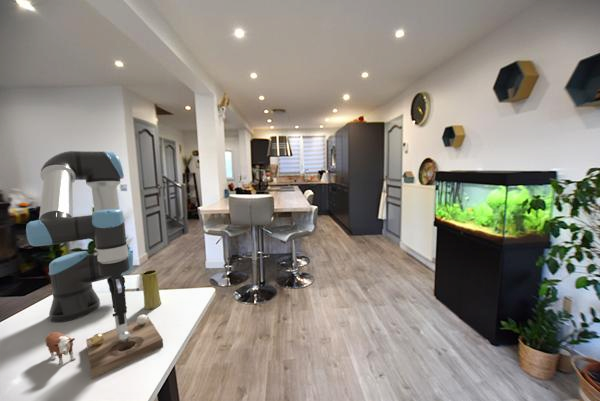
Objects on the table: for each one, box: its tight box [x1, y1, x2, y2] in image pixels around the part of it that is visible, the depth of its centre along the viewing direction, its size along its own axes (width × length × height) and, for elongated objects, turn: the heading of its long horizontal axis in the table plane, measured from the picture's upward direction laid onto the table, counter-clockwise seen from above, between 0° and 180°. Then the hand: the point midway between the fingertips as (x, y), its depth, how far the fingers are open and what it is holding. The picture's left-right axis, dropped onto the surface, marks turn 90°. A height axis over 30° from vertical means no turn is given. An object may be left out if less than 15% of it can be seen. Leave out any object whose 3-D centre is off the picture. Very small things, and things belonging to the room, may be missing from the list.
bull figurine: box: [45, 331, 76, 366], centre depth 72 cm, size 4×13×8 cm, turn 58°
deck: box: [85, 316, 164, 380], centre depth 77 cm, size 18×17×2 cm
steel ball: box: [118, 331, 131, 343], centre depth 75 cm, size 3×3×3 cm
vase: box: [141, 269, 162, 310], centre depth 101 cm, size 6×6×14 cm
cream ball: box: [135, 314, 148, 325], centre depth 84 cm, size 3×3×3 cm
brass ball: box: [91, 333, 104, 346], centre depth 75 cm, size 3×3×3 cm
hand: (122, 332), depth 78 cm, fingers closed
